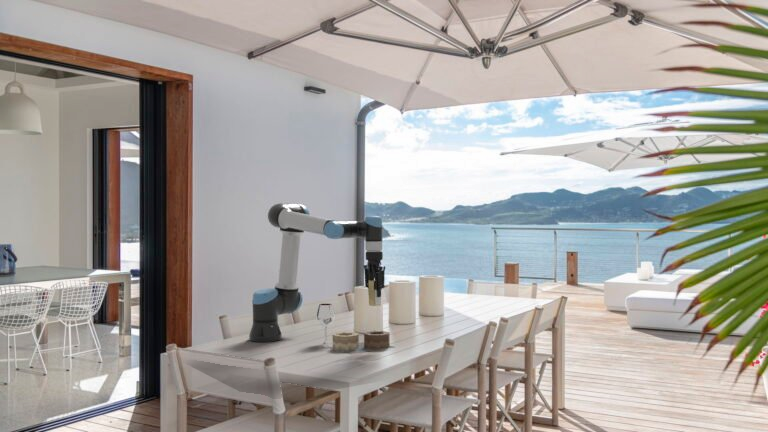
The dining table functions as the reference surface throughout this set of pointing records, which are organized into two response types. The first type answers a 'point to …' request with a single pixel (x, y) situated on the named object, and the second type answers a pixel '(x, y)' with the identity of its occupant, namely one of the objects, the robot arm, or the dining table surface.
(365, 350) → the mat
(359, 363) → the dining table surface
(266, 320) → the robot arm
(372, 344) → the walnut bead
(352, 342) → the beech bead
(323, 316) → the wineglass
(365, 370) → the dining table surface
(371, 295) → the yellow peg
